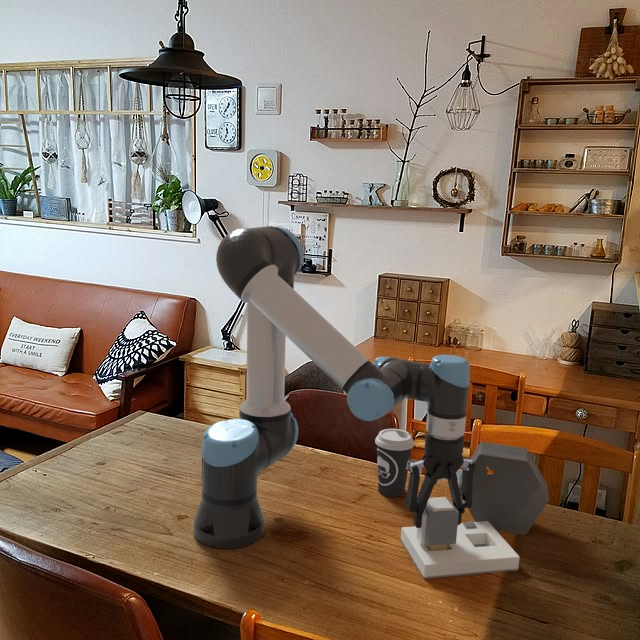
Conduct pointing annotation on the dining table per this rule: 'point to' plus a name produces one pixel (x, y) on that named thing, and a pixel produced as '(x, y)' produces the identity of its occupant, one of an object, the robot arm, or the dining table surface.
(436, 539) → the plug
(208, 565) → the dining table surface
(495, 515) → the grey hexagonal prism
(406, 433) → the coffee cup
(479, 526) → the socket plate
